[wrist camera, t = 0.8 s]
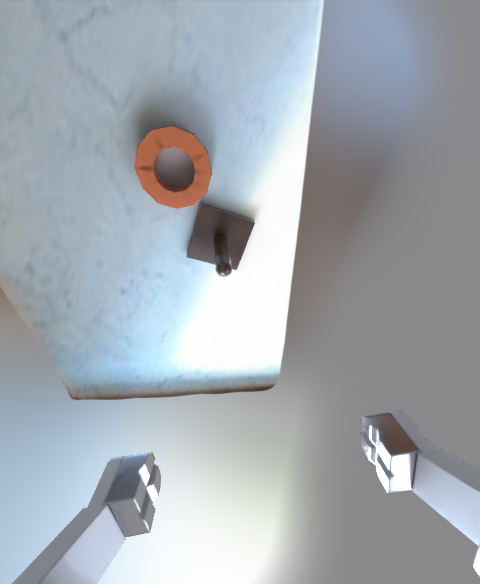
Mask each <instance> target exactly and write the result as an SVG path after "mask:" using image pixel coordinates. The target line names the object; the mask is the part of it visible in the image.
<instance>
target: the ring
mask: <svg viewBox="0 0 480 584" xmlns="http://www.w3.org/2000/svg"><path fill="white" fill-rule="evenodd" d="M168 147H176V148H178V149H181V150H183V151H185V152H186V153H187V155H188V156H189V157H190V158H191V159H192V161H193V165H194V168H195V175H194V180H193V181H192V182H191V183H190V184H189V185H188V186H187V187H183V188H178V189H176V188H173V187H171V186H168V185H166V184H165V183H164V182H163V181H162V179H161V178H160V177H159V175H158V172H157V169H156V162H157V156H158V154H159V153H160V152H161V151H162V150H163V149H164V148H168ZM135 169H136V172H137V174H138V177H139V180H140V182H141V185H142V188H143V189H144V190H145V191H146V192H147V193H148V194H149V195H150V196H151V197H152V198H153V199H154V200H155V201H157V202H158V203H160V204H163V205H166V206H169V207H173V208H176V209H177V208H182V207H186V206H191V205H194V204H195V203H196V202H197V201H198V200H199V199H200V198H201V197H203V196H204V195H205V194H206V193H207V190H208V186H209V182H210V179H211V175H212V171H211V166H210V162H209V157H208V153H207V150H206V149H205V147H204V146H203V145H202V144H201V142H200V141H199V140H198V139H197V137H196V136H195V135H194V134H193V133H191V132H188V131H186V130H183V129H181V128H178V127H176V126H168V127H163V128H158V129H154V130H151V131H150V132H149V133H148V134H147V136H146V137H145V138H144V139H143V140H142V141H141V143H140V144H139V145H138V147H137V155H136V163H135Z"/></svg>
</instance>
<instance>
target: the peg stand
mask: <svg viewBox="0 0 480 584" xmlns="http://www.w3.org/2000/svg"><path fill="white" fill-rule="evenodd" d="M254 224H255V222H254V220H251V219H248V218H245V217H242V216H239V215H236V214H233V213H230V212H227V211H224V210H221V209H218V208H215V207H212V206H209V205H206V204H203V203H200V206H199V210H198V214H197V218H196V221H195V225H194V229H193V233H192V237H191V240H190V244H189V248H188V252H187V257H188V258H192V259H196V260H200V261H204V262H208V263H211V264H215V266H216V272H217V273H218V275H220V276H222V277H226V276H228V275H230V274H231V272H232V269H234V270H237V268H238V265H239V262H240V260H241V257H242V255H243V252H244V249H245V247H246V244H247V242H248V239H249V237H250V234H251V231H252V229H253V226H254Z"/></svg>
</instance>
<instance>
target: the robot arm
mask: <svg viewBox="0 0 480 584" xmlns="http://www.w3.org/2000/svg"><path fill="white" fill-rule="evenodd" d="M361 425H362V427H363V430H362V431H361V442H362V446H363V449H364V451H365V453H366V455H367V457H368V459H369V460H370V461H371V462H372V463H374V464H375V465H376V473H377V475H378V477H379V479H380V480H381V482H382V484H383V486H384V487H385V489H386V491H387V493H389V492H397V491H405V490H412V489H413V490H412V491H413V492H414V493H416V494H417V495H418V496H419V497H420V498H421V499H423V500H424V501H425V502H426V503H427V504H429V505H430V506H431V507H432V508H433V509H435V510H436V511H437V512H438V513H439V514H441V515H442V516H443V517H444V518H445V519H447V520H448V521H449V522H450V523H451V524H453V525H454V526H455V527H456V528H457V529H459V530H460V531H461V532H462V533H464V534H465V535H466V536H467V537H468V538H469V539H471V540H472V541H473V542H474V543H476V544H477V545H478V550H477V553H476V556H475V559H474V568H475V570H476V571H477V573H478V574H479V576H480V470H478V469H477V468H475V467H473V466H472V465H470V464H468V463H466V462H464V461H463V460H461V459H459V458H457V457H455V456H454V455H452V454H450V453H448V452H446V451H444V450H443V449H437V448H436V447H435V446H434V445H433V444H432V443H431V442H430V440H429V439H428V438H427V437H426V436H425V435H424V433H423V432H422V431H421V430H420V429H419V428H418V426H417V425H416V424H415V423H414V422H413V421H412V420H411V418H410V417H409V416H408V415H407V414H406V413H405V412H404V411H403V410H398V411H392V412H385V413H379V414H374V415H368V416H363V417H362V418H361ZM154 460H155V457H154V455H153V453H144V454H137V455H130V456H122V457H116V458H112V459H111V460H110V461H109V462H108V463H107V466H106V468H105V470H104V472H103V474H102V477H101V479H100V481H99V483H98V486H97V488H96V490H95V492H94V494H93V497H92V499H91V501H90V503H89V505H88V508H84V509H82V510H81V512H80V513H79V514H78V515H77V516H76V517H75V518H74V519H73V520H72V521H71V522H70V523H69V524H68V525H67V526H66V527H65V528H64V529H63V531H62V532H61V533H60V534H59V535H58V536H57V537H56V538H55V539H54V540H53V541H52V542H51V543H50V544H49V545H48V546H47V547H46V548H45V549H44V551H43V552H42V553H41V554H40V555H39V556H38V557H37V558H36V559H35V560H34V561H33V562H32V563H31V564H30V565H29V566H28V567H27V569H26V570H25V571H24V572H23V573H22V574H21V575H20V576H19V577H18V578H17V579H16V580H15V581H14V582H13V583H12V584H97V583H98V581H99V580H100V578H101V577H102V575H103V574H104V572H105V570H106V569H107V567H108V566H109V564H110V563H111V561H112V560H113V558H114V557H115V555H116V554H117V552H118V550H119V549H120V547H121V546H122V544H123V543H124V541H125V540H126V538H125V537H130V536H135V535H140V534H144V533H149V532H150V530H151V526H152V522H153V517H154V513H155V508H154V505H153V502H154V501H155V499H156V498H157V497H158V495H159V491H160V484H161V483H160V482H161V475H160V470H159V467H158V466H157V465H155V464H154Z"/></svg>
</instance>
